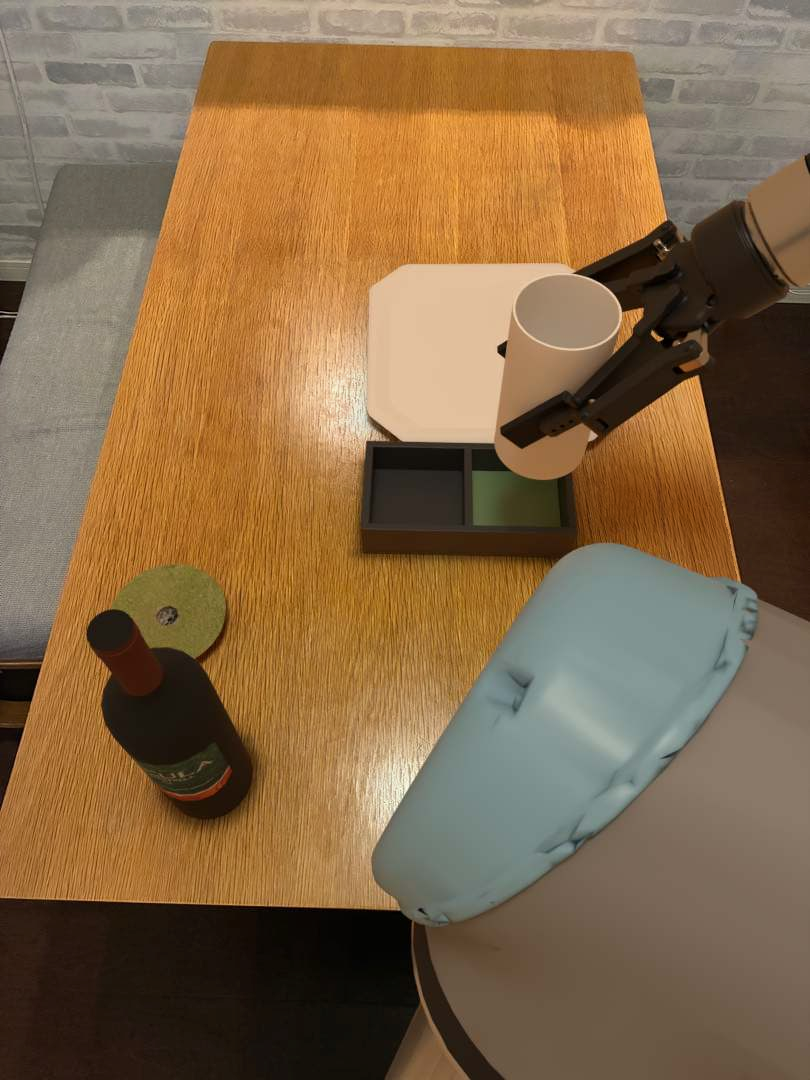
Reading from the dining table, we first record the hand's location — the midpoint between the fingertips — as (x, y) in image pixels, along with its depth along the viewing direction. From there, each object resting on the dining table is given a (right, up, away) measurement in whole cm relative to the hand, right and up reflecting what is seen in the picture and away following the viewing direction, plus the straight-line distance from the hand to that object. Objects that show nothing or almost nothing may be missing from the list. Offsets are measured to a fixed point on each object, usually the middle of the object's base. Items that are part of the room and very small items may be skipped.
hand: (509, 396), depth 72 cm
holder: (-2, -9, +19) cm, 21 cm away
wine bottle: (-26, -33, +4) cm, 42 cm away
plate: (+1, +10, +30) cm, 32 cm away
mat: (-32, -20, +12) cm, 40 cm away
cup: (+3, -3, +5) cm, 7 cm away
